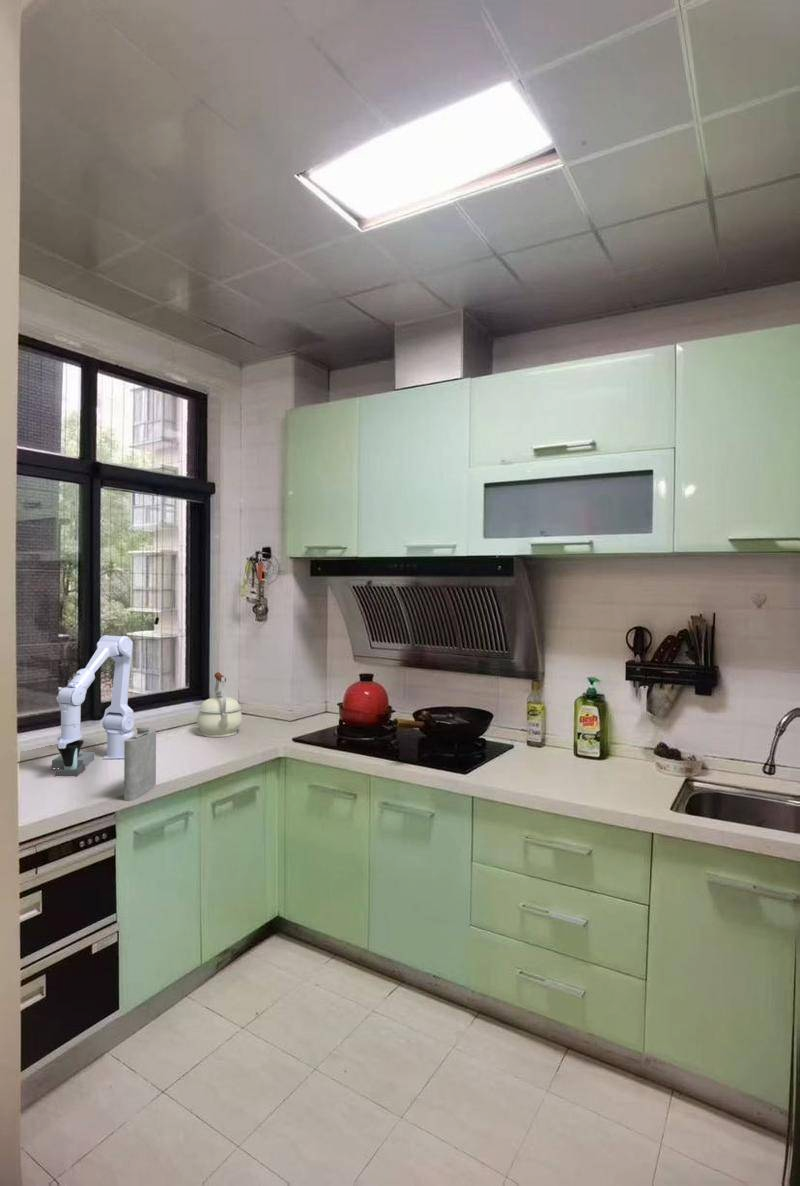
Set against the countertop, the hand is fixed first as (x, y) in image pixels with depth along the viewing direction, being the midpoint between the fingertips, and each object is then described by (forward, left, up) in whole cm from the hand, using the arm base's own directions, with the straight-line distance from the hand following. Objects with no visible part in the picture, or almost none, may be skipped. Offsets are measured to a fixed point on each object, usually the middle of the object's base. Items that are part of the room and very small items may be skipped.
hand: (70, 764), depth 206 cm
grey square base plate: (0, 0, -3) cm, 3 cm away
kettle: (-40, -51, -3) cm, 65 cm away
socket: (+3, -10, -3) cm, 11 cm away
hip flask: (-29, +20, -3) cm, 35 cm away
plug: (0, 0, -3) cm, 3 cm away
